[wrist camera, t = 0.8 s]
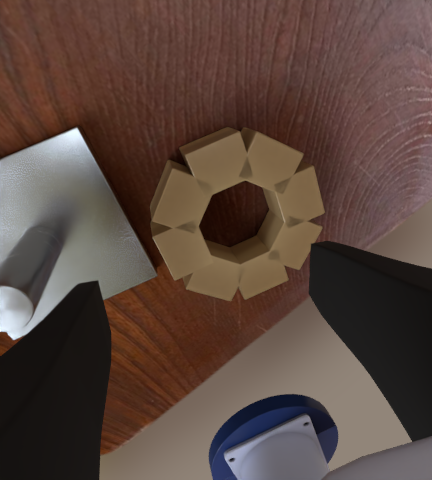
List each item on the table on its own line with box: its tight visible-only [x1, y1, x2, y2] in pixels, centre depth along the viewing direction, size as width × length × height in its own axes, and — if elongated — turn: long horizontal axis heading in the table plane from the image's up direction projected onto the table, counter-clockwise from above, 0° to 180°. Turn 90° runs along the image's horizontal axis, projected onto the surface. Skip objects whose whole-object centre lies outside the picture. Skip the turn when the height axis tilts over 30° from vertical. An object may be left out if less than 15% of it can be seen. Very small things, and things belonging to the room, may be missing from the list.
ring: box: [150, 127, 325, 301], centre depth 20 cm, size 9×9×2 cm
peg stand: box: [0, 125, 158, 340], centre depth 16 cm, size 9×9×7 cm
